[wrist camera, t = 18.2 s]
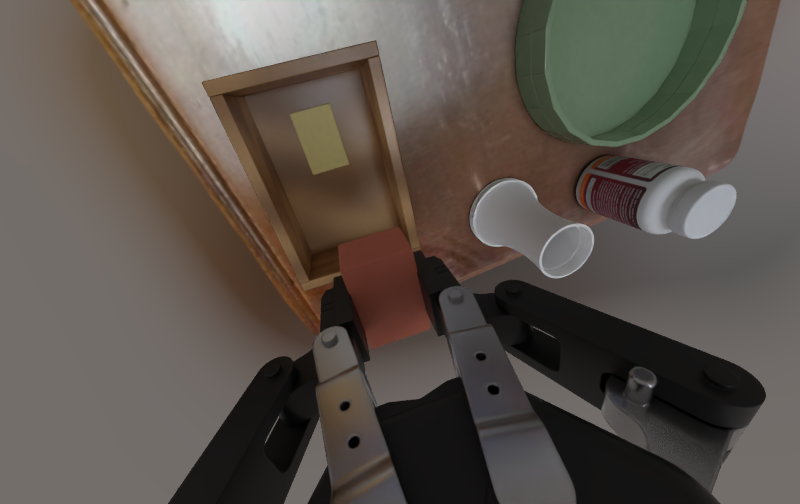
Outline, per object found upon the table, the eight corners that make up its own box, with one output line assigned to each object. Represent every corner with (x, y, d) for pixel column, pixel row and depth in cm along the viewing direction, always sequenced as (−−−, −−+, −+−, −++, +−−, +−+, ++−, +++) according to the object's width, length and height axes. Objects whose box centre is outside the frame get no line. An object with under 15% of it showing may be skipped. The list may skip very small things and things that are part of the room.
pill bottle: (595, 216, 35) (697, 258, 25) (562, 195, 32) (662, 232, 23) (631, 169, 33) (757, 195, 23) (600, 143, 30) (726, 160, 21)
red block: (337, 244, 13) (339, 271, 11) (398, 225, 13) (412, 248, 11) (365, 315, 15) (371, 350, 13) (417, 298, 16) (431, 329, 13)
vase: (509, 250, 34) (571, 299, 25) (457, 232, 31) (507, 280, 23) (544, 191, 31) (626, 224, 23) (491, 166, 29) (561, 192, 20)
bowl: (512, -90, 20) (550, -130, 17) (725, -134, 22) (800, -179, 18) (516, 161, 29) (542, 169, 26) (668, 117, 31) (712, 118, 27)
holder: (230, 87, 21) (201, 81, 16) (365, 54, 22) (376, 39, 17) (308, 260, 29) (303, 291, 24) (406, 230, 30) (422, 254, 25)
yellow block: (293, 113, 22) (289, 113, 20) (329, 103, 23) (329, 102, 20) (314, 169, 25) (313, 175, 22) (347, 159, 25) (349, 164, 23)
